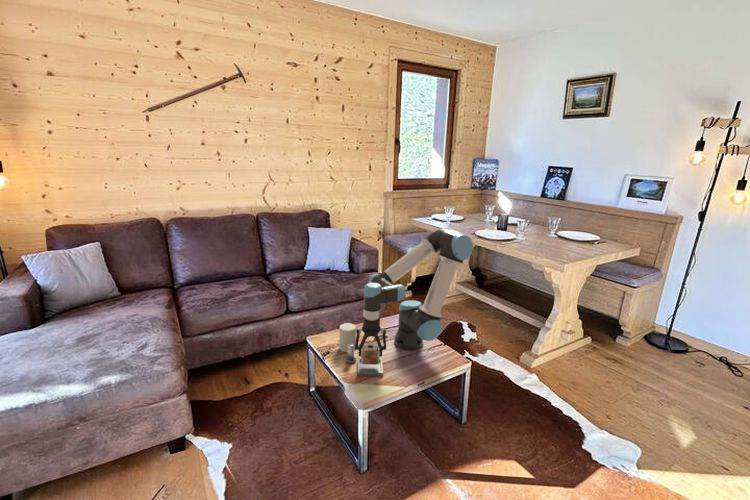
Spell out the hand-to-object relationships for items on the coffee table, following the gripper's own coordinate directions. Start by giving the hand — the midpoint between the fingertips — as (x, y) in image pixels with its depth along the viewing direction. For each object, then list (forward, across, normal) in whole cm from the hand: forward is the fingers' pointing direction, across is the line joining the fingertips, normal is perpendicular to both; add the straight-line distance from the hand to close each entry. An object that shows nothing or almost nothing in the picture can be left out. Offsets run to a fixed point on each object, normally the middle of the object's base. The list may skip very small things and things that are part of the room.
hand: (370, 362), depth 175 cm
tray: (+4, 0, 0) cm, 4 cm away
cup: (+4, +11, -18) cm, 22 cm away
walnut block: (-1, 0, 0) cm, 1 cm away
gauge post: (+4, +9, -6) cm, 12 cm away
